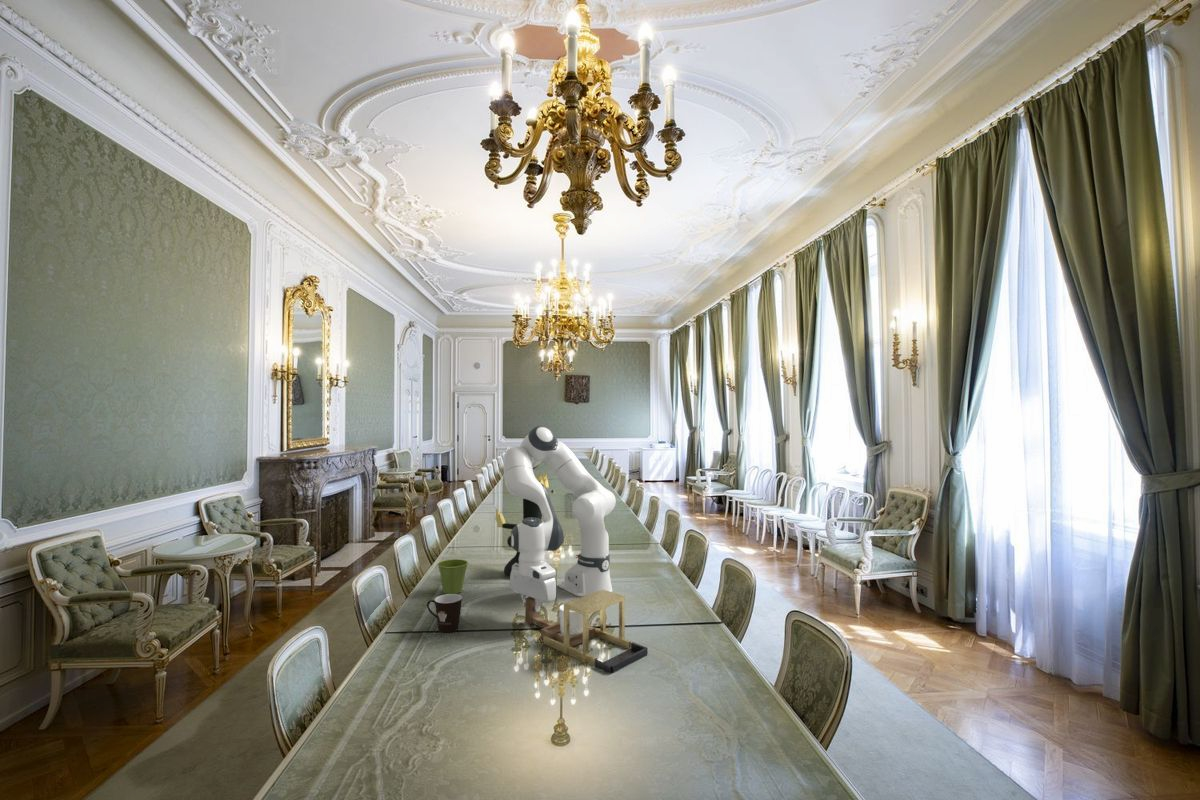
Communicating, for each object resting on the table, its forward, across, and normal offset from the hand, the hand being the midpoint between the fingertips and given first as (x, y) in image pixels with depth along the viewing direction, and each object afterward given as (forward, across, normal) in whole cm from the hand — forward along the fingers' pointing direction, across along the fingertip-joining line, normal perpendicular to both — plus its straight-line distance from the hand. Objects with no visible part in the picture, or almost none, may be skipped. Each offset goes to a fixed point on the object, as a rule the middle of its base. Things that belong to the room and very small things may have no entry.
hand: (531, 609), depth 186 cm
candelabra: (+5, -42, +33) cm, 54 cm away
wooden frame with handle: (+4, +11, 0) cm, 12 cm away
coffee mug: (+5, -17, -22) cm, 28 cm away
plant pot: (+5, -46, -1) cm, 46 cm away
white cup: (+5, +19, 0) cm, 20 cm away
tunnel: (+5, +29, 0) cm, 29 cm away
